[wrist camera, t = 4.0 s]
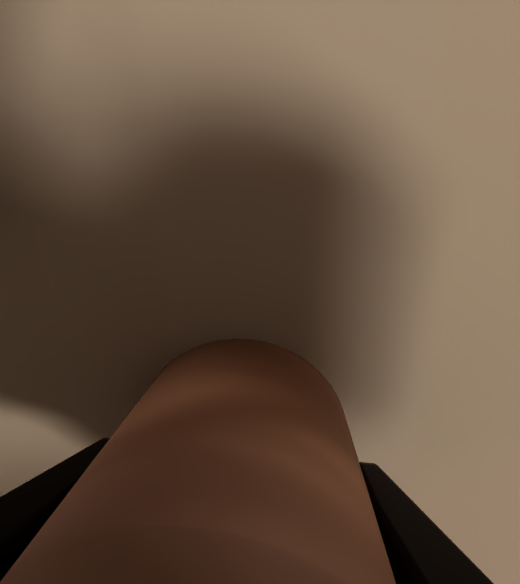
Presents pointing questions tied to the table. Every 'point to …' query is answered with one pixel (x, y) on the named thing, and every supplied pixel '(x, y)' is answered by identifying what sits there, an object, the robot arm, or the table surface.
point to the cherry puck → (219, 484)
